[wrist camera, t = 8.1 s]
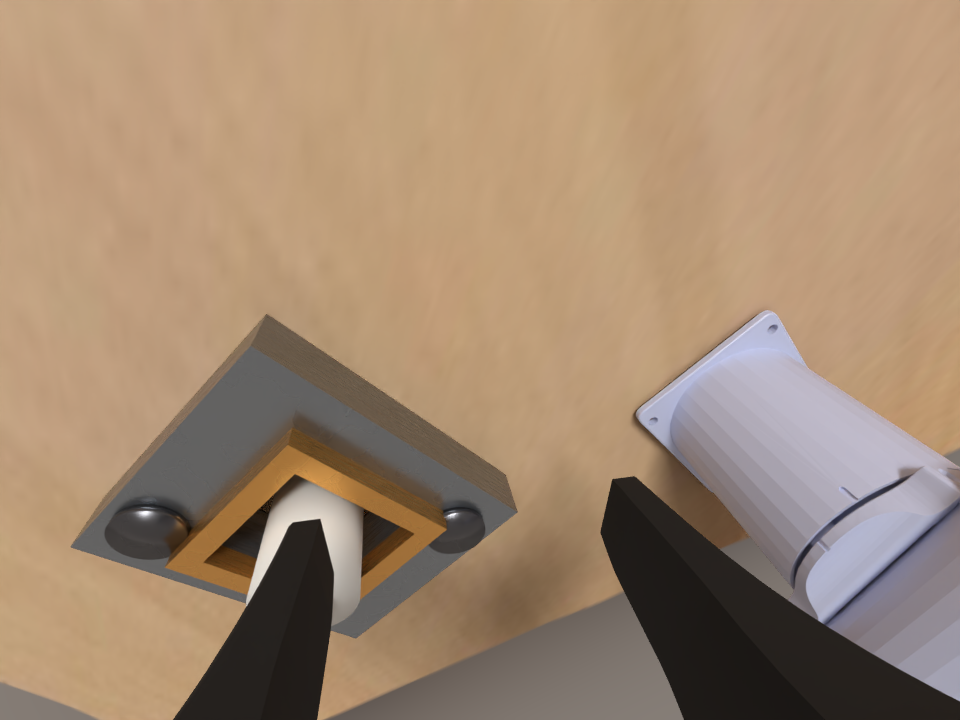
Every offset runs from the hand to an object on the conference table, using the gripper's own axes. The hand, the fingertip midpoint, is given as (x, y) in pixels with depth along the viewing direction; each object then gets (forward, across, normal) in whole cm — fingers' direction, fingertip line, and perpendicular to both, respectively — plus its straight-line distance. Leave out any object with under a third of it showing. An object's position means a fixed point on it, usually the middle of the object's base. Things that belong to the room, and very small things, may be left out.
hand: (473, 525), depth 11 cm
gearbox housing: (+9, +6, +7) cm, 13 cm away
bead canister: (+9, +6, +7) cm, 13 cm away
